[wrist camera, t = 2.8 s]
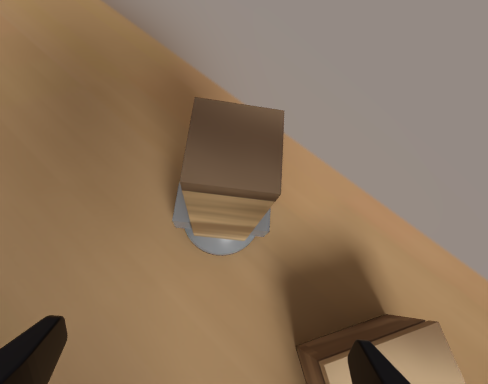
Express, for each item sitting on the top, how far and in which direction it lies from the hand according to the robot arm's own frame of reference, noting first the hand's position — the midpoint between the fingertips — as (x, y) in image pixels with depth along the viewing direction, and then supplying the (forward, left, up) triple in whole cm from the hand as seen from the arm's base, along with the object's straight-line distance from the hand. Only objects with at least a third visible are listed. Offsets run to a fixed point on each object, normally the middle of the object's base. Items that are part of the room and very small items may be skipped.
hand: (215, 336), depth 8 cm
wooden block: (+3, +7, -12) cm, 14 cm away
